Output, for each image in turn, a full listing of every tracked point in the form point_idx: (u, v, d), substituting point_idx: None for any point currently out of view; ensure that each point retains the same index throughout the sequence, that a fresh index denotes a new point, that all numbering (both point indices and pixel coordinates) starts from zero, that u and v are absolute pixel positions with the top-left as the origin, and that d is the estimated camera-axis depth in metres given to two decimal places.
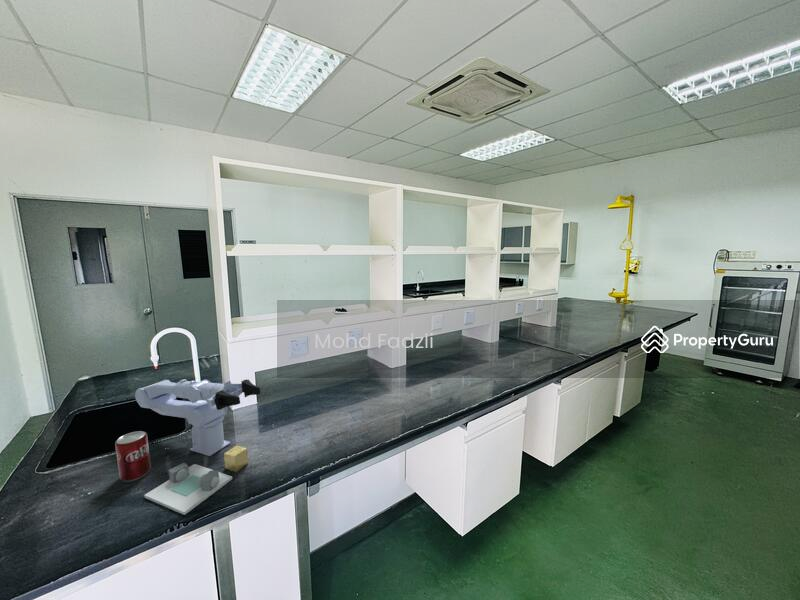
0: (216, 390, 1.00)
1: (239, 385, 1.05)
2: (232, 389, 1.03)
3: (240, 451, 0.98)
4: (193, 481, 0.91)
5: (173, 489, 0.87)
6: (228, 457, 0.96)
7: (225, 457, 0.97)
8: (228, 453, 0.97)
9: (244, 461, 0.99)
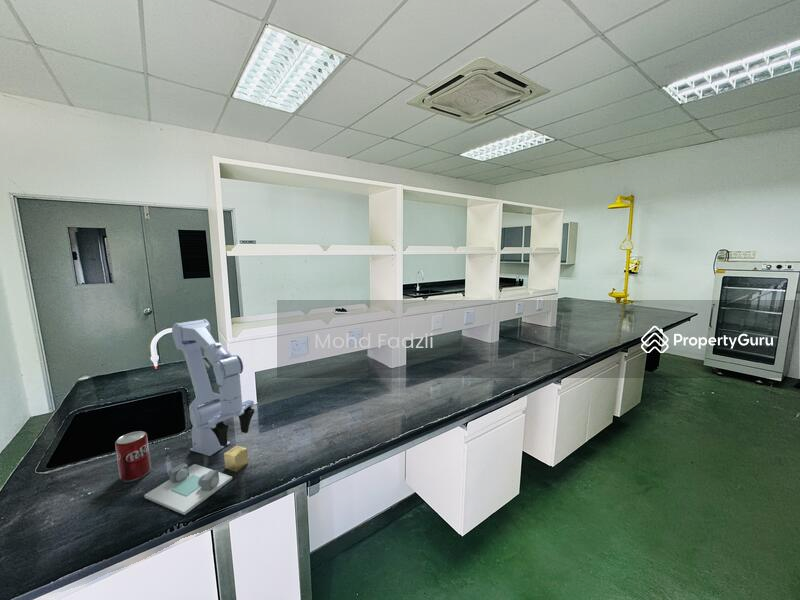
0: (229, 407, 0.93)
1: None
2: None
3: (240, 451, 0.98)
4: (193, 481, 0.91)
5: (173, 489, 0.87)
6: (228, 457, 0.96)
7: (225, 457, 0.97)
8: (228, 453, 0.97)
9: (244, 461, 0.99)
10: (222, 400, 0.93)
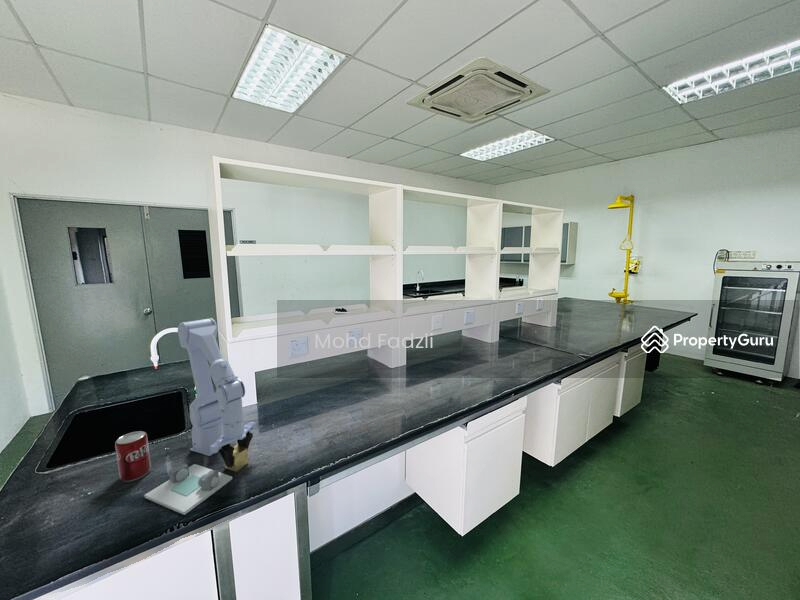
0: (231, 431, 0.94)
1: None
2: None
3: (240, 450, 0.98)
4: (193, 481, 0.91)
5: (173, 489, 0.87)
6: None
7: None
8: None
9: (244, 461, 0.99)
10: (224, 424, 0.94)
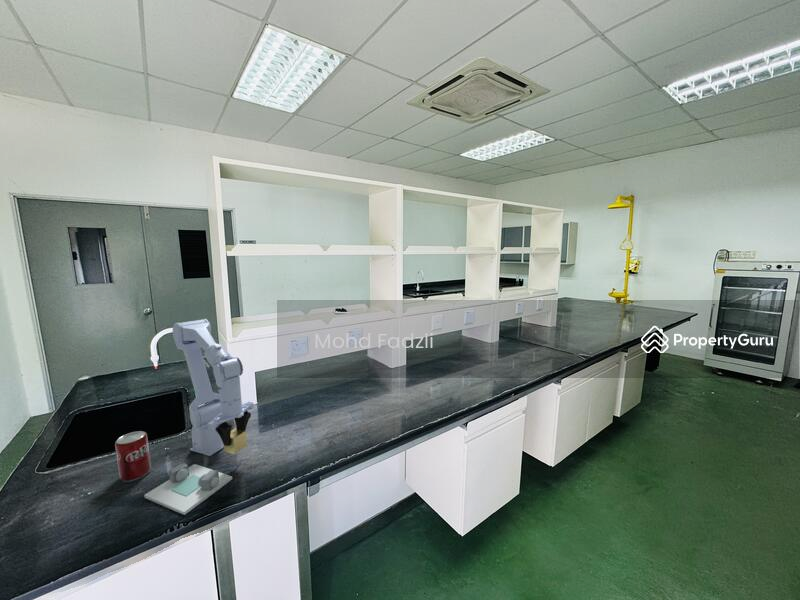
0: (229, 409, 0.93)
1: None
2: None
3: (239, 433, 0.97)
4: (193, 481, 0.91)
5: (173, 489, 0.87)
6: None
7: None
8: None
9: (243, 444, 0.98)
10: (222, 402, 0.93)
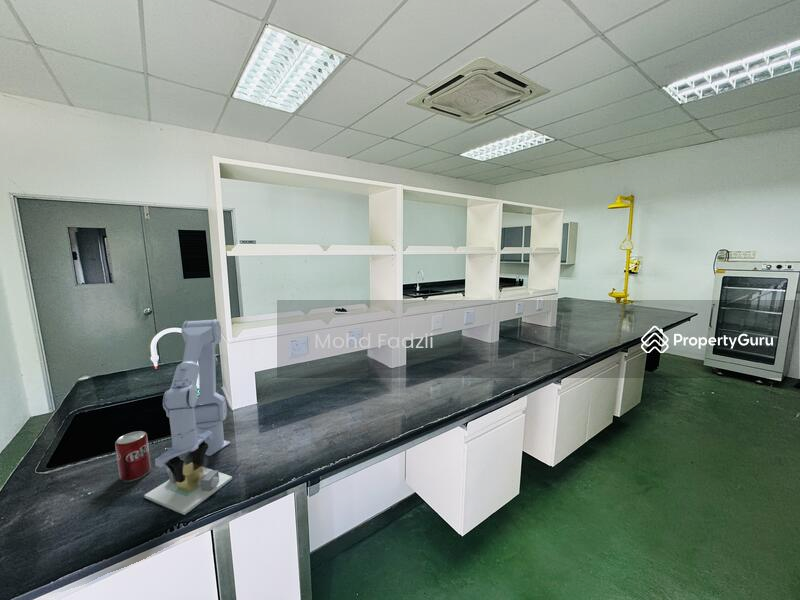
0: (180, 443, 0.84)
1: None
2: None
3: (194, 468, 0.88)
4: None
5: (173, 489, 0.87)
6: None
7: None
8: None
9: None
10: (173, 435, 0.84)
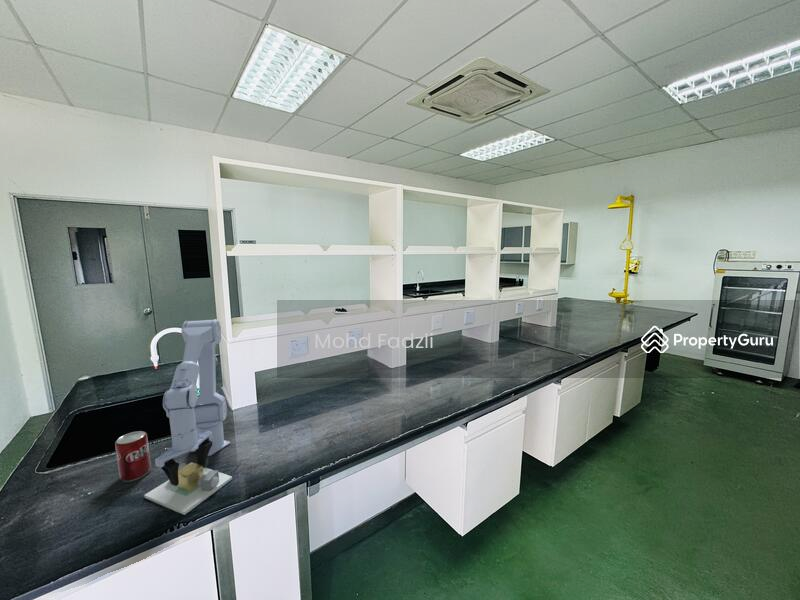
0: (180, 443, 0.84)
1: None
2: None
3: (194, 468, 0.88)
4: None
5: (173, 489, 0.87)
6: (180, 476, 0.86)
7: None
8: (180, 471, 0.87)
9: None
10: (173, 435, 0.84)
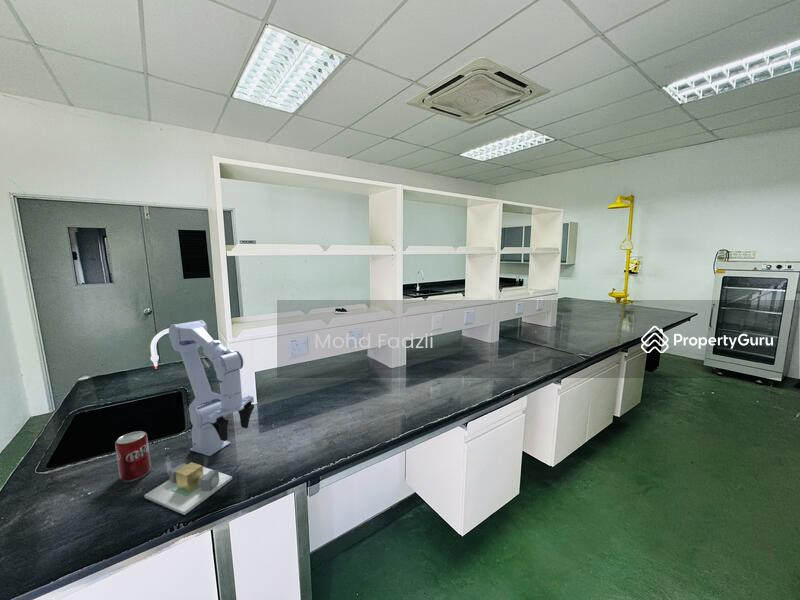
0: (229, 402, 0.94)
1: None
2: None
3: (194, 468, 0.88)
4: None
5: (173, 489, 0.87)
6: (180, 476, 0.86)
7: (176, 476, 0.87)
8: (180, 471, 0.87)
9: None
10: (222, 395, 0.94)
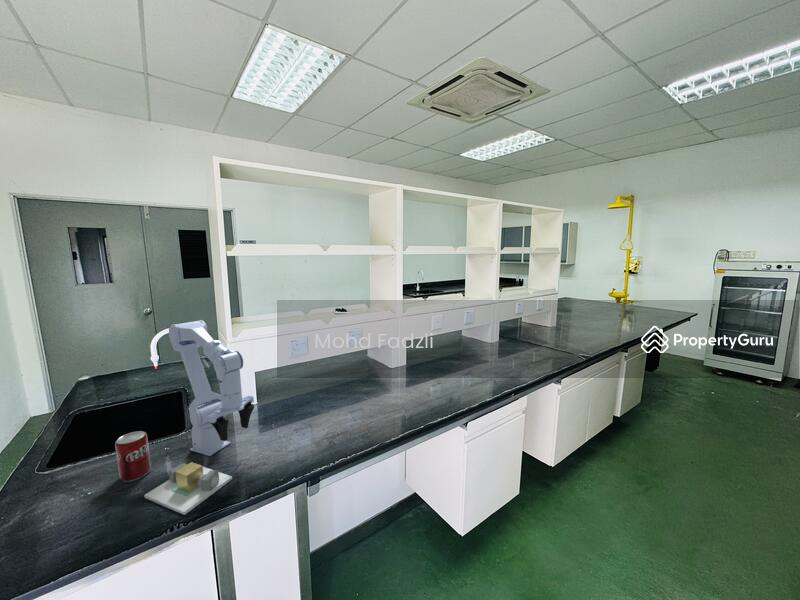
0: (229, 402, 0.94)
1: None
2: None
3: (194, 468, 0.88)
4: None
5: (173, 489, 0.87)
6: (180, 476, 0.86)
7: (176, 476, 0.87)
8: (180, 471, 0.87)
9: None
10: (222, 395, 0.94)
